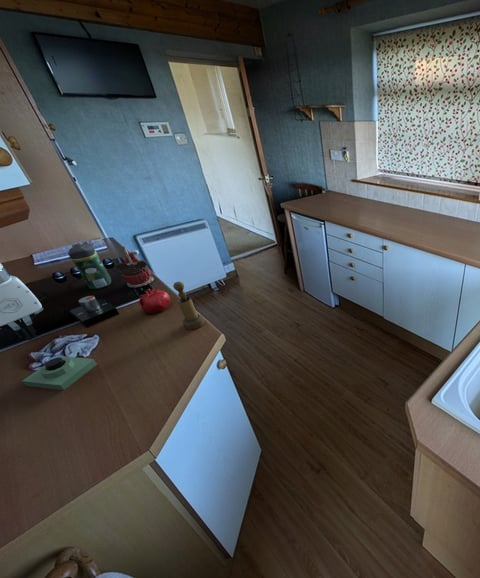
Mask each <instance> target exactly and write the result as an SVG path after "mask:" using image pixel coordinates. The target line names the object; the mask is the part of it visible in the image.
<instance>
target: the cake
mask: <svg viewBox="0 0 480 578" xmlns="http://www.w3.org/2000/svg"><path fill="white" fill-rule="evenodd" d="M122 249H123V251H124V253H125V258H124V262H119V263H117V264H116V265H115V266H116V268H117V270H120V271H122V274H121V276H122V278H123V281H125V282H127V283H126V285H127V287H129V288H134V289H135V288H140V287H143V286H146V285H149V284H151V283H153V282H154V279H155V278H154V277H153V276H151V275H152V272H151V270H150V268H149V267H147V266H149V262H148V261H147V260H145V259H139V258H138V257H136V256H138V255H139V253H140V252H139V250H137V249H134V250H132V251H130V252H128V250H127V248H126V246H122Z"/></svg>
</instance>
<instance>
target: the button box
mask: <svg viewBox="0 0 480 578" xmlns="http://www.w3.org/2000/svg"><path fill="white" fill-rule="evenodd" d="M55 358H62V359H63V361H64V362H65V364H64V365H63V366H61V367H60V368H58V369H55V370H51V371H49V370H48V369H47V368H46V367H45V366H44V365H42V366H41V367H40V368H39V369H37V370H35V371H34V372H32V373H31V374H29V375H28V376H27V377H25V378H24V379H23V380H21V382H22V384H24V385H25V387H31V388H38V389H39V388H42V389H50V390H58V391H65V390H67V389H68V388H69V387H71V386H72V385H73V384H74V383H75V382H77V381H78V380H79V379H80V378H82V377H83V376H85V375H86V374H87V373H89V371H90V370H92V369H93V368H95V367H96V366H97V365H98V362H97V361H96V360H95V359H94V358H87V357H86V358H85V357H75V356H67V355H65V356H64V355H58V356H56V357H55Z"/></svg>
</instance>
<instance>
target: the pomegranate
mask: <svg viewBox="0 0 480 578" xmlns="http://www.w3.org/2000/svg"><path fill="white" fill-rule="evenodd" d="M144 292H145V294H140V295H139V300H138V306H139V307H140V309H141V310H142V311H144V312H146V313H148V314H157V313H160V312H161V313H162V312H163V311H166V309H167V308H168V307H169V306H170V304H171V295H169V293H167V292H166V291H164V290H161V289H160V288H156V289H154V288H152V289H150V288H148V289H146V290H144Z"/></svg>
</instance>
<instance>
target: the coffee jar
mask: <svg viewBox="0 0 480 578" xmlns="http://www.w3.org/2000/svg"><path fill="white" fill-rule="evenodd" d="M67 254H68V256H69V258H70V260H71V261H72V262H73V264H74V265H75V267H76V269H77V270H78V272H79V274H80V276H81V277H82V279H83V280H84V282H85V284H86V286H87V287H88V288H89V289H90V290H100V289H103V288H106V287H108V286H111V283H112V277H111V275H110V274H109V272H108V271H107V269H106V267H105V265H104V263H103V262H102V260H101V258H100V256H99V254H98V252H97V251H96V249H95V247H94V246H93V245H92V244H90V243H86V242H85V243H79V244H75V245H73V246H72V247H70V248H69V250H68V252H67Z"/></svg>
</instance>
